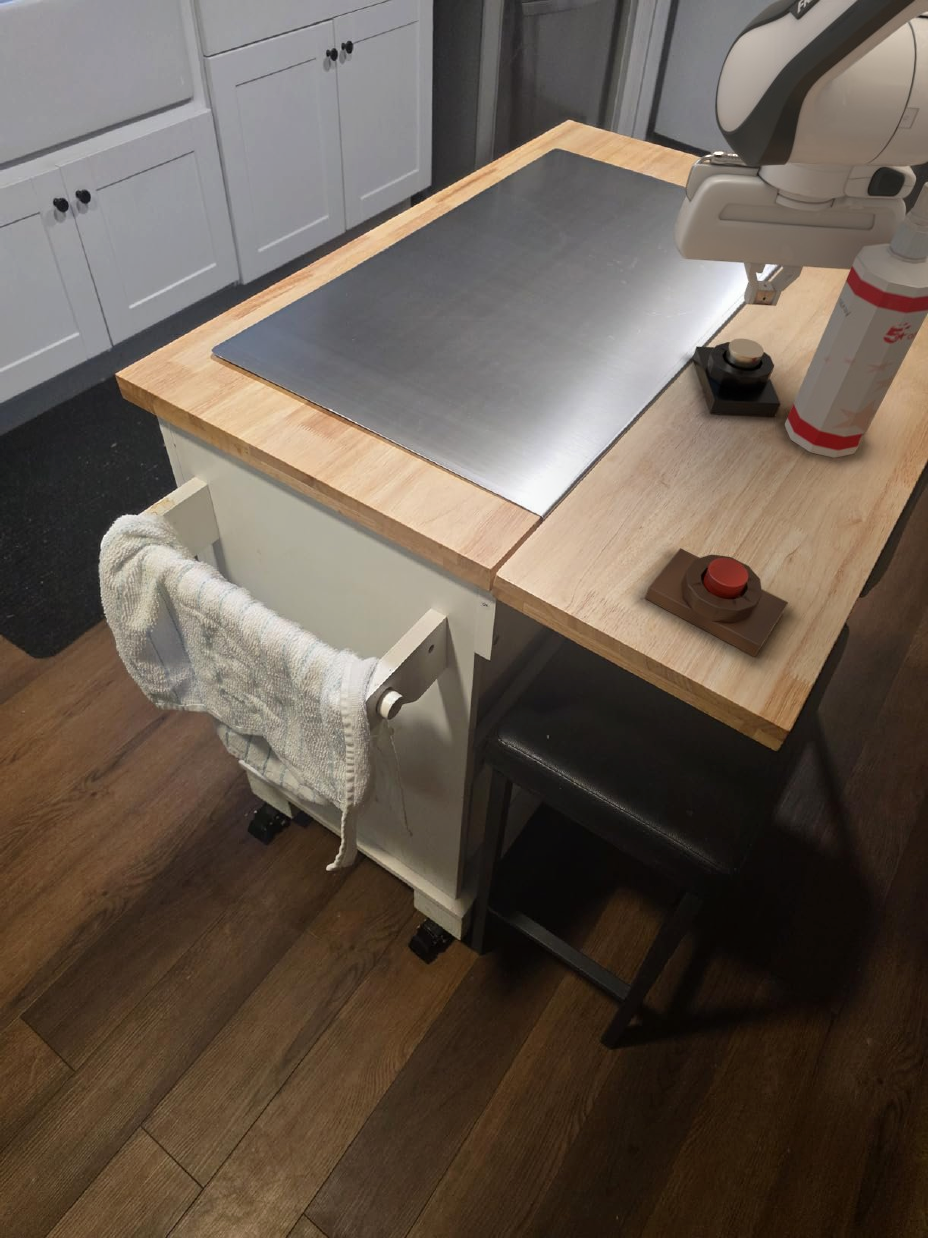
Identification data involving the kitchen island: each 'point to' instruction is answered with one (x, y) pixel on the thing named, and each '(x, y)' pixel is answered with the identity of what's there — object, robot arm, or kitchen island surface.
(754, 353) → the switch button
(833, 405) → the spray bottle
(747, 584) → the block
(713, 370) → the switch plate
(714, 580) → the bell button
